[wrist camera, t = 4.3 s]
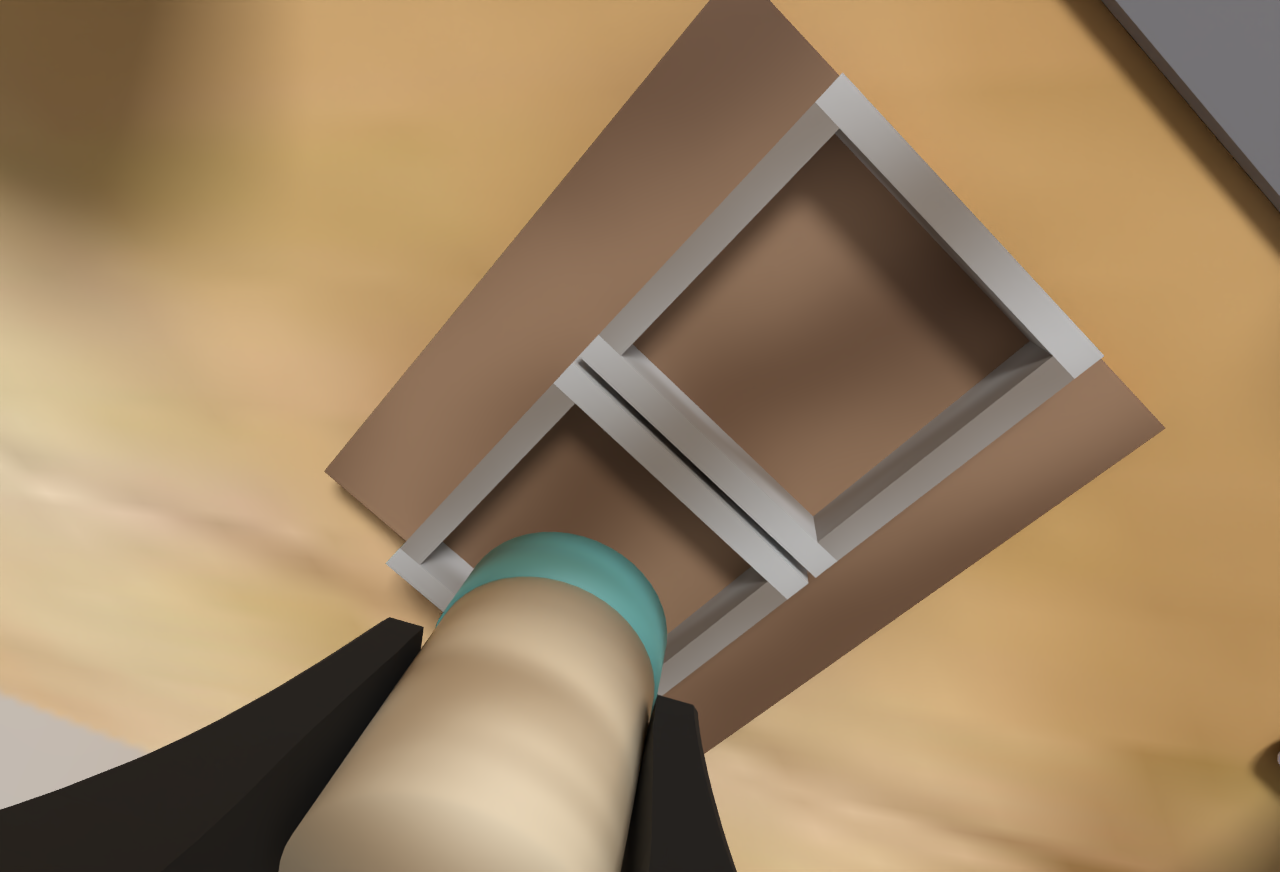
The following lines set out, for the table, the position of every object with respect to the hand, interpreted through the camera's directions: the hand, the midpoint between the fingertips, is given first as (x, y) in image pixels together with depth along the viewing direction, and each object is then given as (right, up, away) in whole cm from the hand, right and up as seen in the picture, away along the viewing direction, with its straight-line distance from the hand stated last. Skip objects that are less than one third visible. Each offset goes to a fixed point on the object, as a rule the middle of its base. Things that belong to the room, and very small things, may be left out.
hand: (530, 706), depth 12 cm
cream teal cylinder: (0, +1, +2) cm, 2 cm away
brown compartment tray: (+3, +5, +5) cm, 7 cm away
